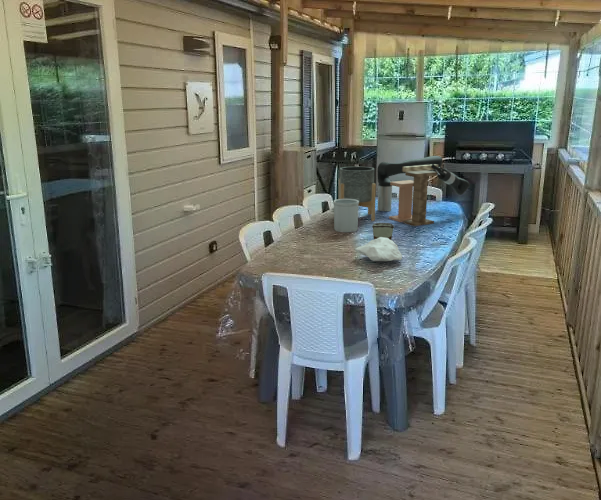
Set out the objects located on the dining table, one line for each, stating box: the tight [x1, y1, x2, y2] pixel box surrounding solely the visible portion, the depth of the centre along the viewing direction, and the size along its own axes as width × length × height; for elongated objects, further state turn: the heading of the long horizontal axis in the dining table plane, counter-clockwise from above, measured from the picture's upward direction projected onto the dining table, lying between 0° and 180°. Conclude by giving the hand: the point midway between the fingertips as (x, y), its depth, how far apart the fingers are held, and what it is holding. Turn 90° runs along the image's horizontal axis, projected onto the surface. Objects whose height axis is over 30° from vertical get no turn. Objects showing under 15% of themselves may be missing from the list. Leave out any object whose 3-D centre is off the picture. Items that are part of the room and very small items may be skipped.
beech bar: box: [403, 164, 438, 172], centre depth 351 cm, size 26×3×3 cm, turn 118°
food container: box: [371, 222, 396, 241], centre depth 301 cm, size 12×6×10 cm, turn 84°
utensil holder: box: [333, 198, 359, 233], centre depth 326 cm, size 15×15×18 cm
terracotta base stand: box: [388, 179, 414, 223], centre depth 352 cm, size 16×12×24 cm
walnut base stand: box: [402, 170, 437, 227], centre depth 339 cm, size 16×10×32 cm, turn 118°
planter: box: [338, 166, 377, 222], centre depth 358 cm, size 22×22×32 cm
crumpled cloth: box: [354, 237, 403, 262], centre depth 269 cm, size 24×35×9 cm
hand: (429, 165), depth 354 cm, fingers closed on beech bar, 3 cm apart
